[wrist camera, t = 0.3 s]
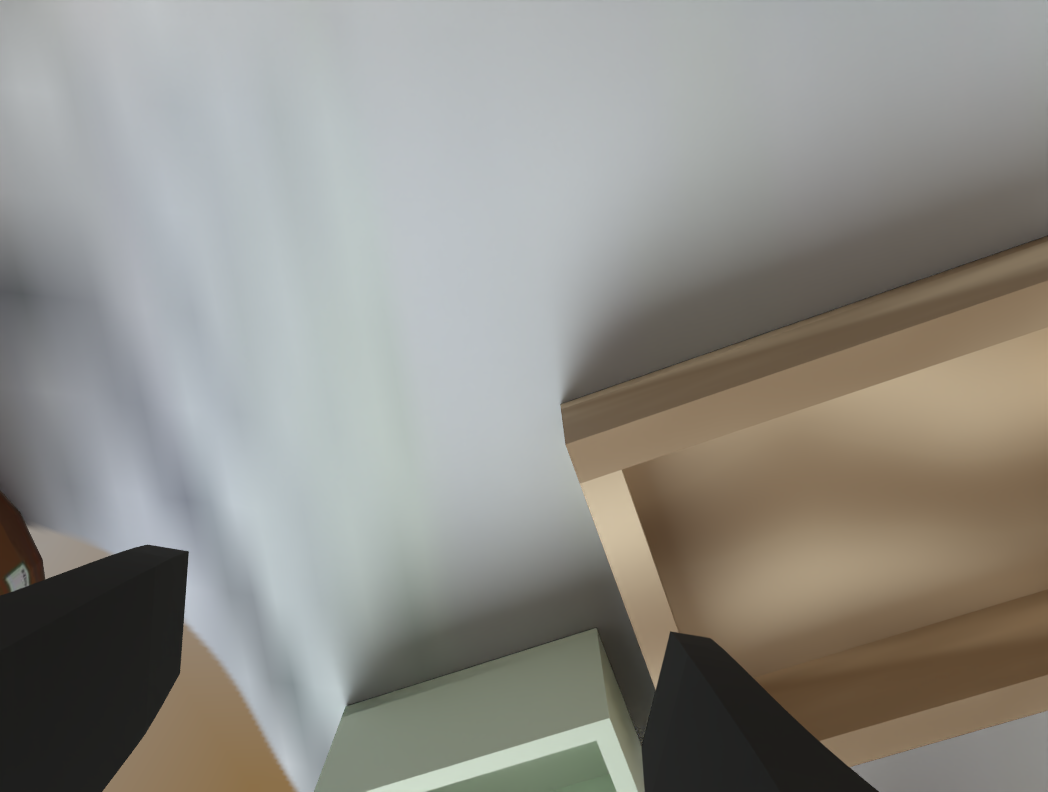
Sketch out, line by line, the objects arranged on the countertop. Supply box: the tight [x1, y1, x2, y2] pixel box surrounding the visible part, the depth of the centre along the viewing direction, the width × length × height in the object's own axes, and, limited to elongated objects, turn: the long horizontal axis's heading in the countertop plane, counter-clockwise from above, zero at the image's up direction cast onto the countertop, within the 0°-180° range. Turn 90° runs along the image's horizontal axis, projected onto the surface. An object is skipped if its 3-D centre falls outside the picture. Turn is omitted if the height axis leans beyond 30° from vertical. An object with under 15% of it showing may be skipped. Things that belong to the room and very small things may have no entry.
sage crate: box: [314, 628, 645, 792], centre depth 21 cm, size 5×8×4 cm, turn 110°
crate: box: [560, 236, 1048, 767], centre depth 19 cm, size 10×14×4 cm
